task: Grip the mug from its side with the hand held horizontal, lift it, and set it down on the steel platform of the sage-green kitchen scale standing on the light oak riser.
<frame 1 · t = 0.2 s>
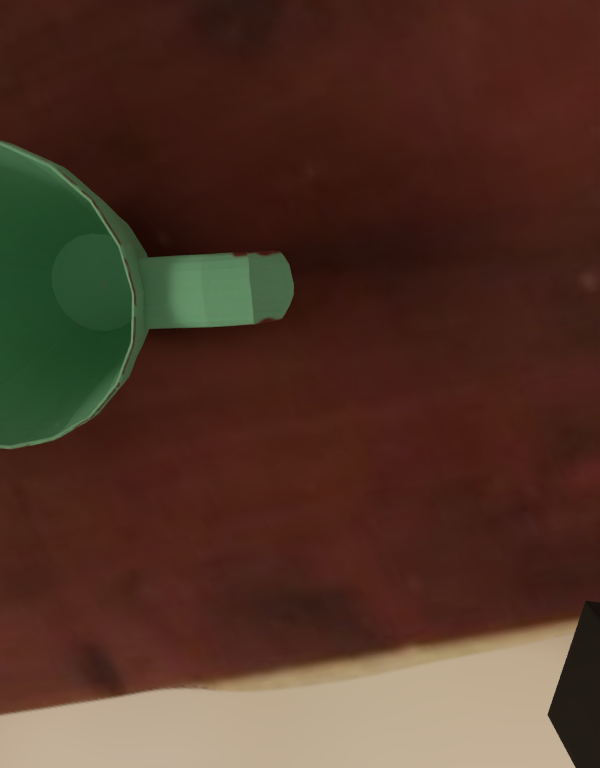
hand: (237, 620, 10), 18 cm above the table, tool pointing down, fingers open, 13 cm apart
mug: (151, 279, 27), on the table
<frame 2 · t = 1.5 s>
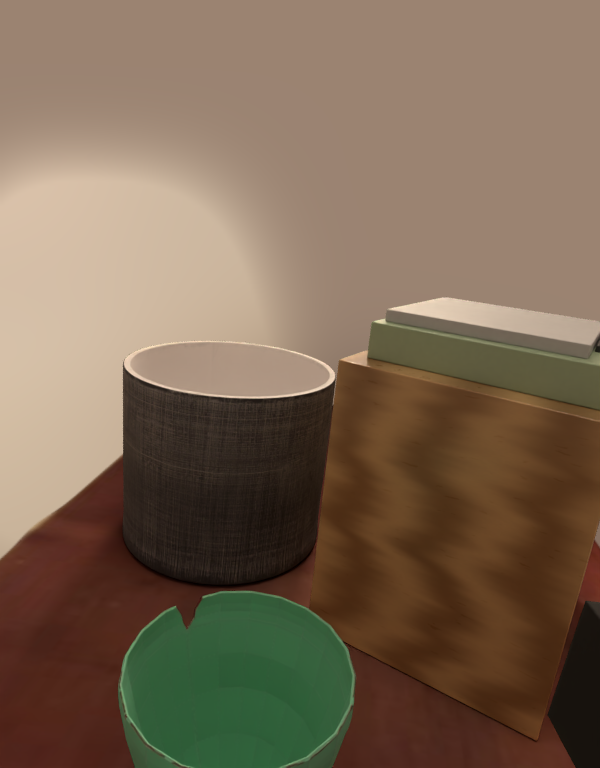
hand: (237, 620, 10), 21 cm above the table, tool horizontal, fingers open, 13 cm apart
riser: (450, 604, 44), on the table
planter: (221, 528, 52), on the table
scale: (500, 362, 38), resting on riser
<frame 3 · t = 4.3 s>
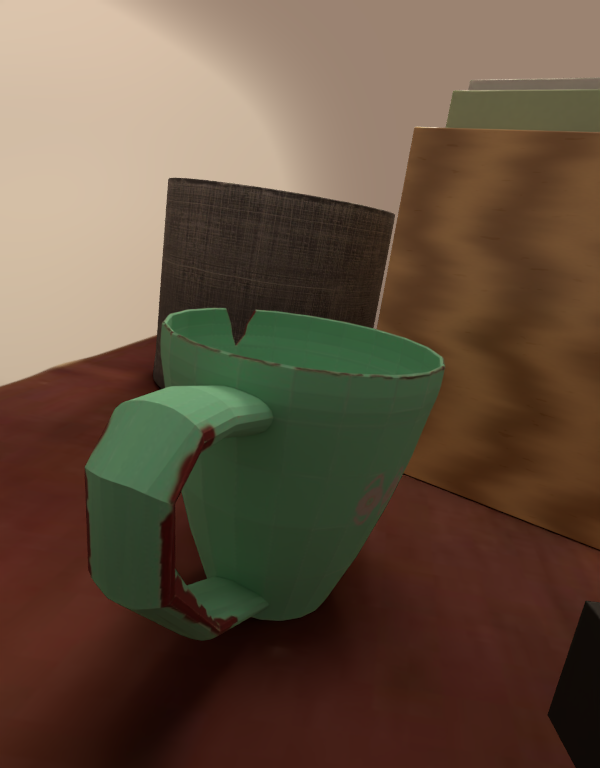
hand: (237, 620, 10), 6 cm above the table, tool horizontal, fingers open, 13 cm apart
mug: (239, 618, 20), on the table
riser: (511, 461, 39), on the table
planter: (257, 389, 48), on the table
scale: (591, 164, 34), resting on riser
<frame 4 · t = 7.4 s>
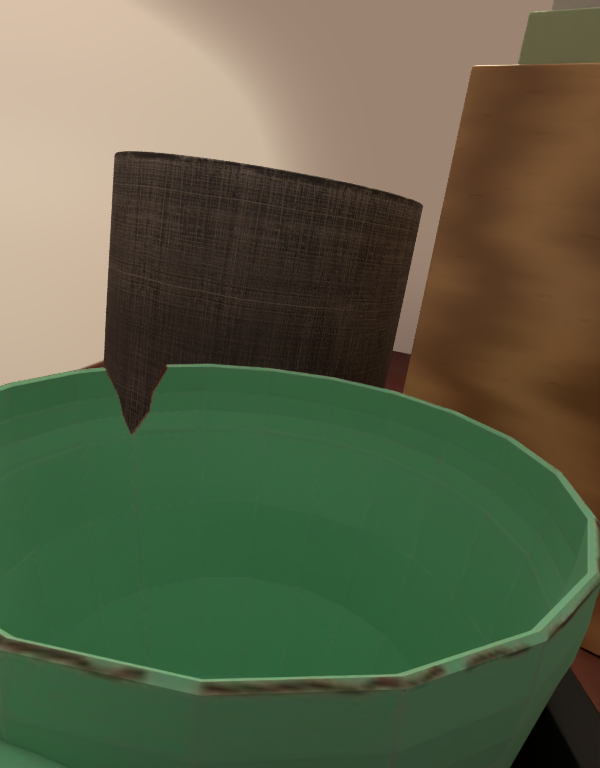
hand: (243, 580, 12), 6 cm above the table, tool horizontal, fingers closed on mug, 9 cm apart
riser: (585, 546, 29), on the table
planter: (239, 433, 37), on the table
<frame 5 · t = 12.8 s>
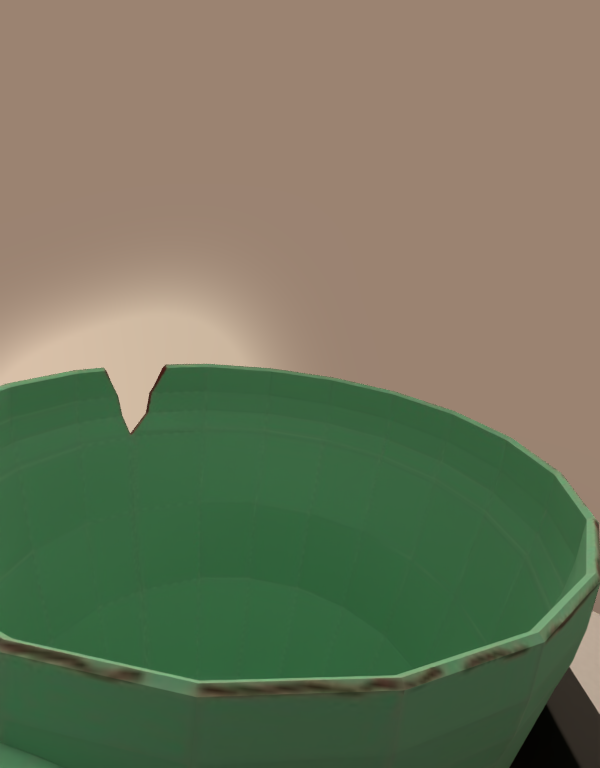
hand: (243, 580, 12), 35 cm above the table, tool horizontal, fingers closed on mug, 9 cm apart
scale: (539, 703, 30), resting on riser
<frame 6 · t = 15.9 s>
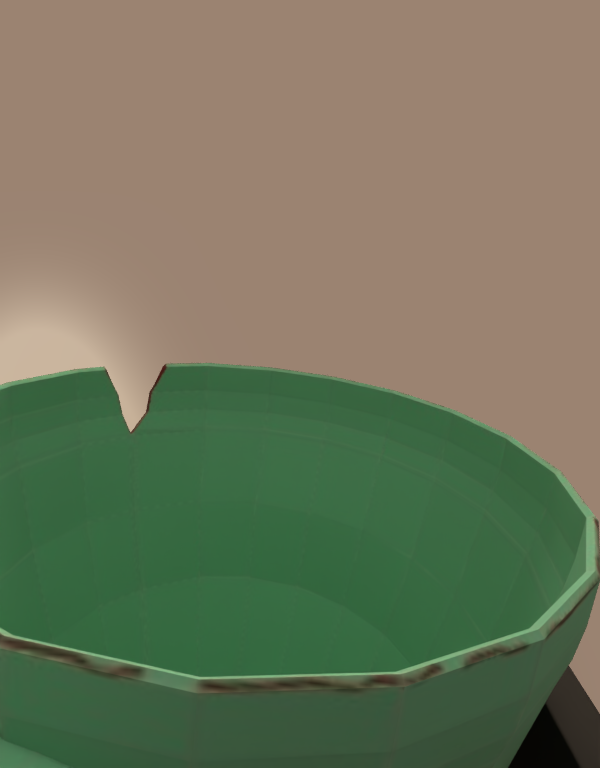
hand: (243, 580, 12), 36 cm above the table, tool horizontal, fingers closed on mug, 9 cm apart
when the fingers open (29 cm above the table, at t = 18.4 s): mug stays where it is, resting on scale.
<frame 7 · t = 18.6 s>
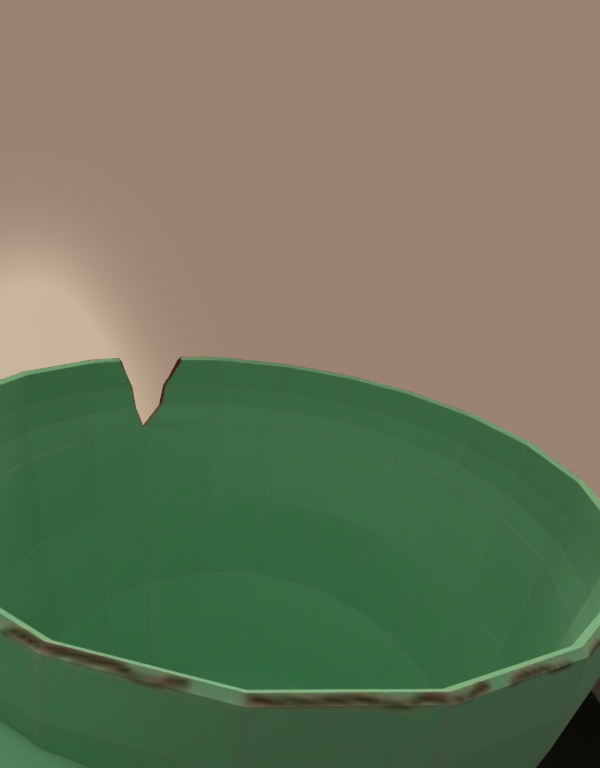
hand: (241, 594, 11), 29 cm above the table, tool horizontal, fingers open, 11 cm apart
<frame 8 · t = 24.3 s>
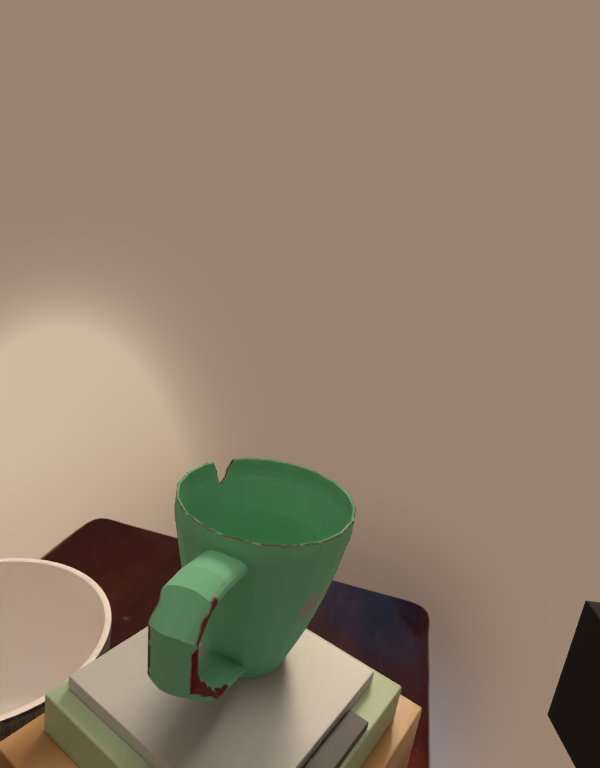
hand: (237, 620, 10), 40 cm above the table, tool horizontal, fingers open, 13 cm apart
mug: (227, 678, 31), point 23 cm above the table, touching scale
scale: (230, 724, 31), resting on riser
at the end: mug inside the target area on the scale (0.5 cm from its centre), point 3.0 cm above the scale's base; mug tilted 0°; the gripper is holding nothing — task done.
